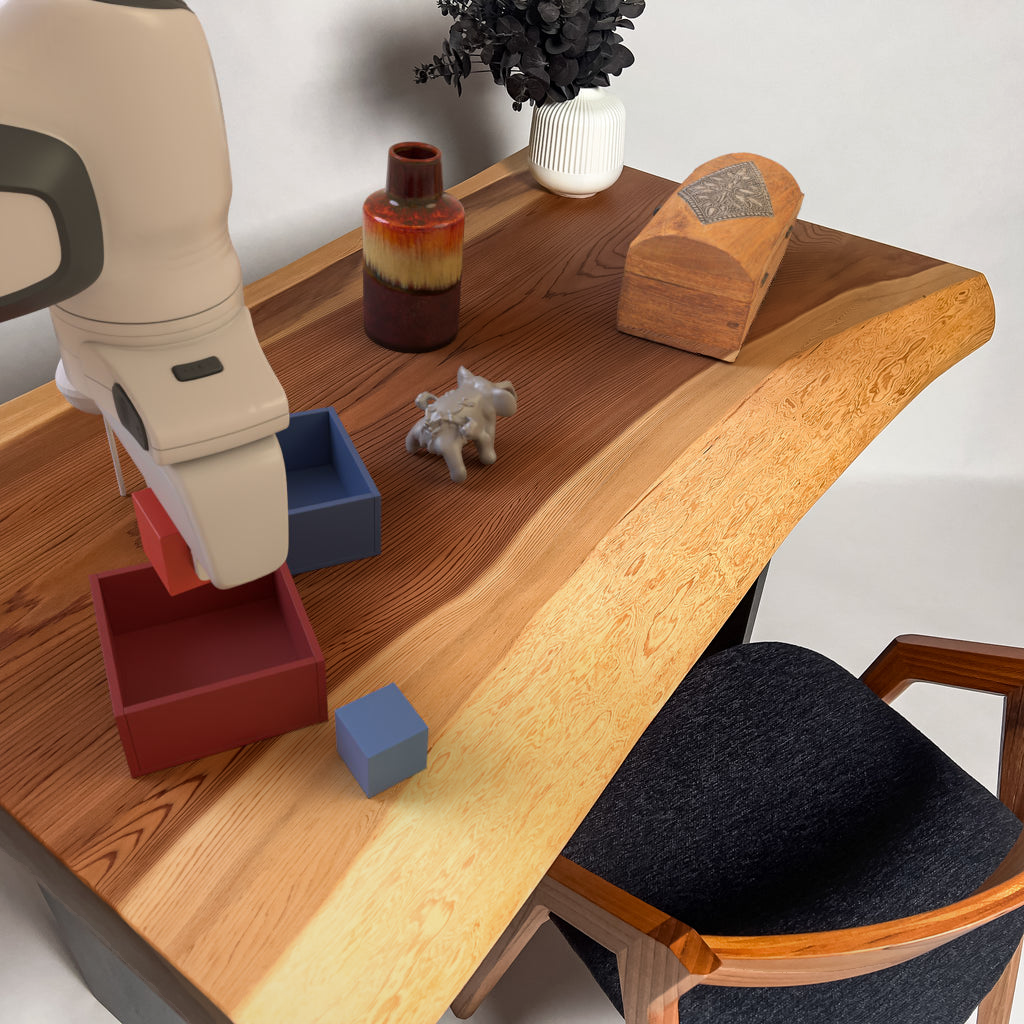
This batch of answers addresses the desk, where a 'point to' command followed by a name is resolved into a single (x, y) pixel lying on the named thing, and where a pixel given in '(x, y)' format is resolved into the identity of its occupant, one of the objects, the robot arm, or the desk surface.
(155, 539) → the red block
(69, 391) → the lollipop
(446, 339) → the vase
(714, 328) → the wooden box
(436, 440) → the grey animal figurine
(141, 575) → the red bin
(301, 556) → the blue bin
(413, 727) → the blue block
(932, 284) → the desk surface
